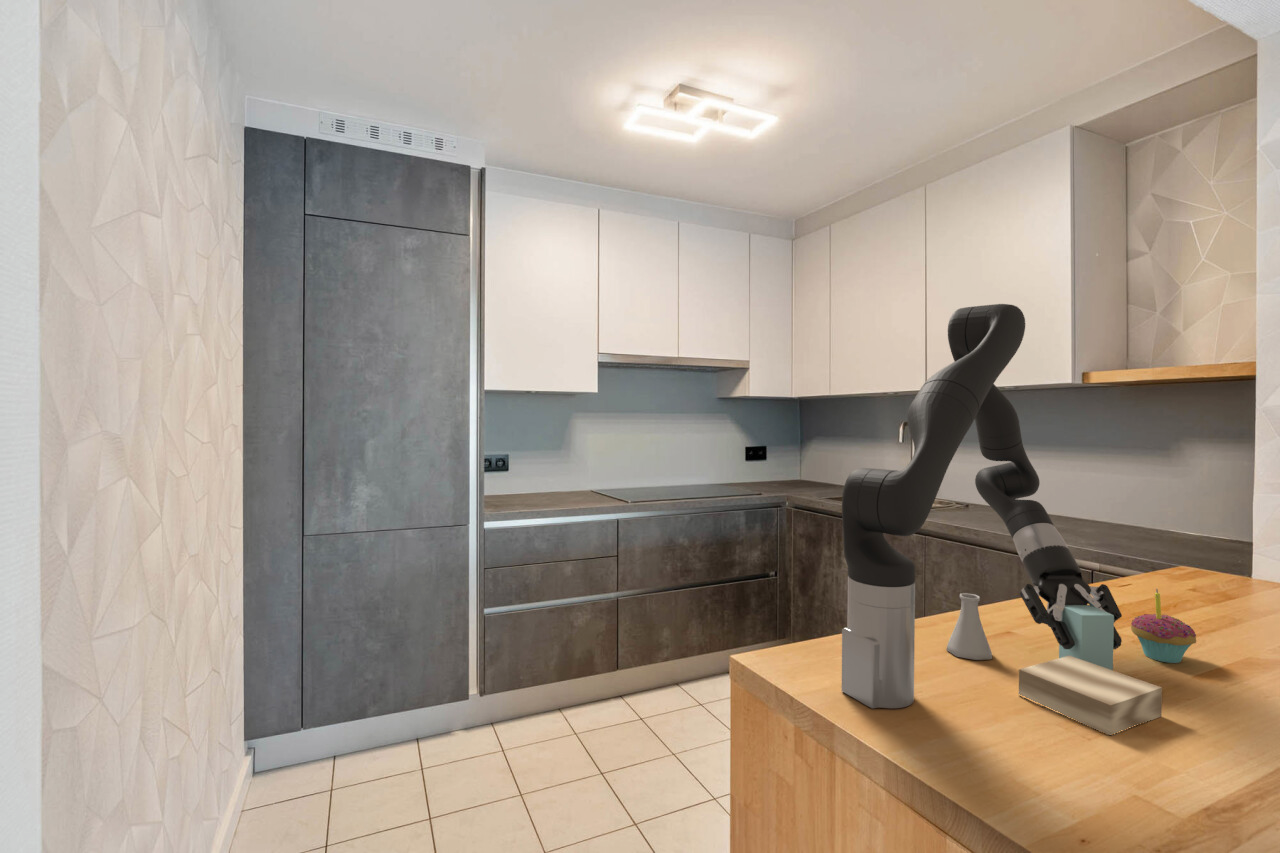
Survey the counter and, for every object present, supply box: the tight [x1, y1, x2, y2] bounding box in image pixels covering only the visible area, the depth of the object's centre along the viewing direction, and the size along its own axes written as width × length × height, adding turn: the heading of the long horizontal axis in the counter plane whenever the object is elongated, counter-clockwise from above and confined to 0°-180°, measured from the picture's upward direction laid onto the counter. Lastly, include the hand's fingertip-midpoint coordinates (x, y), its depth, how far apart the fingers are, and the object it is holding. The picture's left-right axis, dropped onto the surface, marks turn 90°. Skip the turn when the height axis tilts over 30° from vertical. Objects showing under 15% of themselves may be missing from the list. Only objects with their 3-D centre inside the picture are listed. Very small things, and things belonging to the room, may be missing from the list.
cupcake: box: [1130, 588, 1197, 664], centre depth 103 cm, size 9×8×12 cm
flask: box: [946, 592, 993, 661], centre depth 105 cm, size 7×7×10 cm
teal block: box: [1058, 604, 1115, 671], centre depth 98 cm, size 5×5×10 cm
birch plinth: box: [1018, 656, 1163, 736], centre depth 86 cm, size 12×12×4 cm
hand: (1093, 647), depth 96 cm, fingers open, 6 cm apart
